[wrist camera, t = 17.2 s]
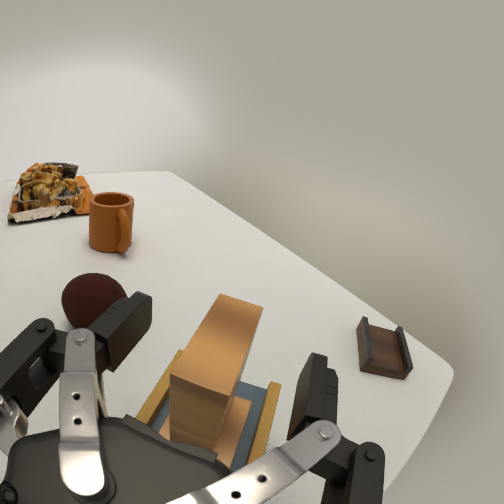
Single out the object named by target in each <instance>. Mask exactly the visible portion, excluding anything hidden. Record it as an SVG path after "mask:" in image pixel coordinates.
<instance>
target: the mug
mask: <svg viewBox="0 0 504 504" xmlns="http://www.w3.org/2000/svg"><path fill="white" fill-rule="evenodd" d="M133 208H134V199H133V198H132V197H131V196H129V195H127V194H123V193H116V192H105V193H99V194H95V195H93V196H91V197H90V203H89V244H90V245H91V247H92V248H94V249H95V250H98V251H101V252H119V253H124V252H125V251H126V250H127V249H128V247H129V246H130V244H131V236H132V220H133Z"/></svg>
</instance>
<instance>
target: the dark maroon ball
mask: <svg viewBox="0 0 504 504" xmlns="http://www.w3.org/2000/svg"><path fill="white" fill-rule="evenodd" d="M124 297H127V295H126V293H125V291H124V290H123V288H122V286H121V285H120V284H119V283H118V282H117V281H116V280H114V279H113V278H111V277H109V276H108V275H103V274H99V273H87V274H83V275H80V276H77V277H76V278H74V279H72V280H71V281H70V282H69V283H68V284H67V286H66V287H65V289H64V290H63V292H62V299H61V302H62V306H63V310H64V312H65V315H66V317H67V319H68V321H69V322H70V324H71V325H72V326H73V327H74V328H75V329H79V328H83V329H86V328H88V327H89V326H90V325H91V324H92V323H93V322H94V321H95V320H96V319H97V318H98V317H99V316H100V315H101V314H103V313H104V312H105V311H106V310H107V309H108V308H110V306H111V305H112V304H113V303H114V302H116V301H117V300H119V299H121V298H124Z"/></svg>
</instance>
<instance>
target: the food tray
mask: <svg viewBox="0 0 504 504" xmlns="http://www.w3.org/2000/svg"><path fill="white" fill-rule="evenodd" d="M53 165H54V166H53ZM58 165H62V166H63V167H58ZM77 170H78V166H76V165H73V164H67V163H43V164H39V163H36V164H34V165H33V166H31V167H30V168H29V169H28V170H27V171H26V172H25V173H23V174H21V176H20V179H19V181H18V182H17V184H16V186H18V187H16V188H15V191H14V194H13V200H12V204H11V208H10V213H9V214H8V218H7V219H8V222H9V221H11V222H13V221H14V220H16V222H19V221H29V220H34V219H38V218H44V217H49V216H51V215H53V219H55V217H57V216H58V215H59V214H61V213H62V212H63V213H67V212H69V211H70V210H71V208H72V209H74V211H75V212H76V213H77V214H88V213H89V203H90V197H91V196H93V194H92V192H91V190H90V188H89V185H88V184H87V183H86V181H85V178H84V177H83V176H76V173H77Z"/></svg>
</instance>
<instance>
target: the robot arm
mask: <svg viewBox="0 0 504 504" xmlns="http://www.w3.org/2000/svg"><path fill="white" fill-rule="evenodd" d="M151 322H152V297H151V296H149V295H146V294H144V293H141V292H139V291H137V292H135V293H134V294H133V295H132V296H131V297H130V298H128V297H124V298H121V299H119V300H117V301H116V302H114V303H113V304H112V305H111V306H110V308H108V309H107V310H106V311H105V312H104V313H103V314H101V315H100V316H99V317H98V318H97V319H96V320H95V321H94V322H93V323H92V324H91V325H90V326H89V327H88V328H86V329H83V328H79V329H75V330H73V331H71V332H70V333H68V332H64V331H60V330H56V329H55V327H54V324H53V322H52V321H51V320H49V319H46V318H40V319H37V320H35V321H33V322H32V323H31V324H30V325H29V326H28V327H27V328H26V329H25V330H24V331H22V332H21V333H20V334H19V335H18V336H17V337H16V338H15V339H14V340H13V341H12V342H11V343H10V344H9V345H8V346H7V347H6V348H5V349H4V350H3V351H2V352H1V353H0V450H2V451H3V452H4V453H5V454H6V455H7V456H8V463H7V470H6V474H5V477H4V480H3V481H2V483H1V484H0V504H263V503H265V502H266V501H268V500H269V499H271V498H272V497H273V496H275V495H276V494H278V493H279V492H280V491H282V490H283V489H285V488H286V487H287V486H289V485H290V484H291V483H293V482H294V481H295V480H297V479H298V478H299V477H301V476H302V475H303V474H304V473H306V472H307V471H310V472H312V473H314V474H316V475H318V476H320V477H323V478H325V479H326V482H325V486H324V491H323V496H322V500H321V504H382V496H383V484H384V468H385V454H384V451H383V449H382V448H381V447H380V446H379V445H378V444H376V443H373V442H365V443H362V444H361V445H358V444H356V443H354V442H352V441H350V440H348V439H346V438H345V437H343V436H342V435H341V432H340V429H339V428H338V427H337V403H338V397H337V396H338V377H337V375H336V372H335V370H334V369H330V368H327V360H328V358H327V356H324V355H320V354H316V353H313V352H312V353H311V354H310V356H309V358H308V360H307V362H306V364H305V366H304V368H303V370H302V372H301V374H300V376H299V379H298V382H297V387H296V393H295V398H294V404H293V409H292V415H291V420H290V425H289V430H288V435H287V439H286V440H287V441H288V442H287V443H285V444H284V445H282V446H281V447H276V448H274V449H272V450H270V451H269V452H267V453H266V454H264V455H263V456H261V457H259V458H258V459H256V460H255V461H253V462H251V463H250V464H248V465H246V466H244V467H243V468H241V469H239V470H238V471H236V472H234V473H233V472H232V471H231V470H230V469H229V468H228V467H227V466H226V465H225V464H224V463H222V462H221V461H219V460H218V459H216V458H217V456H218V453H216V452H213V451H210V450H207V449H204V448H201V447H199V446H196V445H192V444H186V443H180V442H175V441H170V440H167V439H165V438H164V437H163V436H161V435H160V434H159V433H158V432H156V431H155V430H154V429H152V428H151V427H150V426H149V425H147V424H145V423H143V422H141V421H139V420H137V419H135V418H133V417H131V416H130V415H128V414H126V415H125V416H124V418H123V419H122V418H117V417H108V414H107V410H106V403H105V394H104V382H103V372H104V371H105V370H106V369H107V370H109V371H111V372H113V373H114V371H115V370H116V369H117V368H118V366H119V365H120V364H121V363H122V361H123V360H124V359H125V358H126V357H127V355H128V354H129V353H130V352H131V350H132V349H133V348H134V347H135V346H136V344H137V343H138V342H139V341H140V340H141V338H142V337H143V336H144V335H145V334H146V332H147V331H148V330H149V328H150V325H151ZM39 357H40V358H39ZM38 358H39V359H38ZM37 359H38V360H37ZM36 360H37V361H36ZM35 361H36V362H35ZM34 362H35V363H34ZM33 364H34V365H33ZM32 365H33V366H32ZM31 366H32V367H31ZM30 367H31V368H30ZM59 377H60V384H59V424H60V429H56V430H52V431H47V432H43V433H38V434H33V435H28V436H25V435H26V434H27V428H28V419H27V418H28V417H29V415H30V414H31V413H32V411H33V410H34V409H35V407H36V406H37V405H38V403H39V402H40V401H41V400H42V398H43V397H44V396H45V394H46V393H47V392H48V391H49V389H50V388H51V387H52V386H53V384H54V383H55V382H56V381H57V379H58V378H59Z"/></svg>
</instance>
